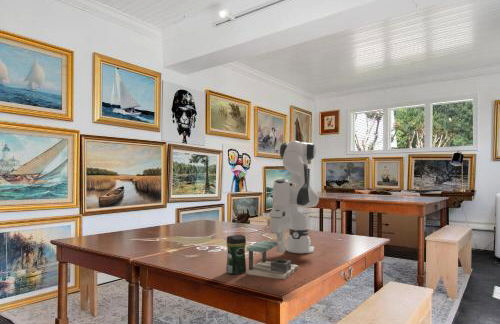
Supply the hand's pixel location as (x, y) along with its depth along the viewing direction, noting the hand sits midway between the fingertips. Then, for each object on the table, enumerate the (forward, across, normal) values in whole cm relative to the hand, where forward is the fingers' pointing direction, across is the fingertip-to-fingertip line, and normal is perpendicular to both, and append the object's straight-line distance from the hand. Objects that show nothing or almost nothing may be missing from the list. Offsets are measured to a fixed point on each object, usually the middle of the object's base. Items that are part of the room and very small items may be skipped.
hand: (281, 239), depth 169 cm
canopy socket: (+17, -2, -5) cm, 18 cm away
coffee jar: (+17, +8, -21) cm, 28 cm away
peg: (+6, 0, 0) cm, 6 cm away
